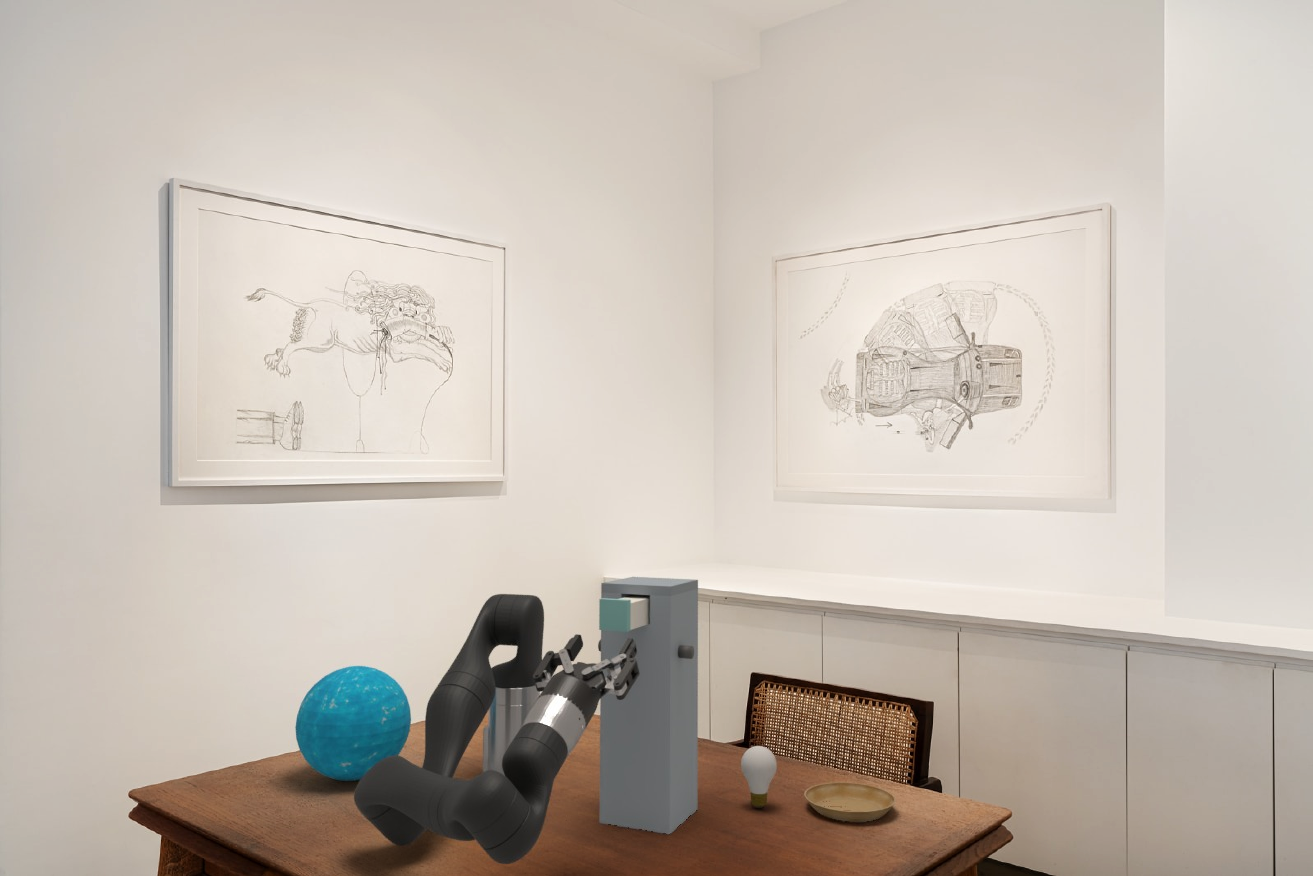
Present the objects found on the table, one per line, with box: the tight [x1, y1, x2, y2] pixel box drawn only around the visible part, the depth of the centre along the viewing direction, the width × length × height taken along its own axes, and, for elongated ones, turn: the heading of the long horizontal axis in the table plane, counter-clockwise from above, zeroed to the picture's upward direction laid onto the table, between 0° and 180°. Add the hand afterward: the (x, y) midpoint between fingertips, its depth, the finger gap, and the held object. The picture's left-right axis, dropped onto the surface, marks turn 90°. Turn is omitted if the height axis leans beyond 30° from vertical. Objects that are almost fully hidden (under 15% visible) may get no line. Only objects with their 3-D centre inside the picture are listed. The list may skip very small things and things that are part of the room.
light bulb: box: [740, 745, 777, 809], centre depth 153 cm, size 6×6×10 cm
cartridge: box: [598, 594, 650, 632], centre depth 146 cm, size 5×19×5 cm, turn 157°
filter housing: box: [597, 576, 699, 835], centre depth 150 cm, size 16×12×38 cm
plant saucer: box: [803, 781, 897, 823], centre depth 152 cm, size 15×15×3 cm
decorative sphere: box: [294, 665, 412, 782], centre depth 168 cm, size 20×20×20 cm
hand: (605, 641), depth 135 cm, fingers open, 8 cm apart
